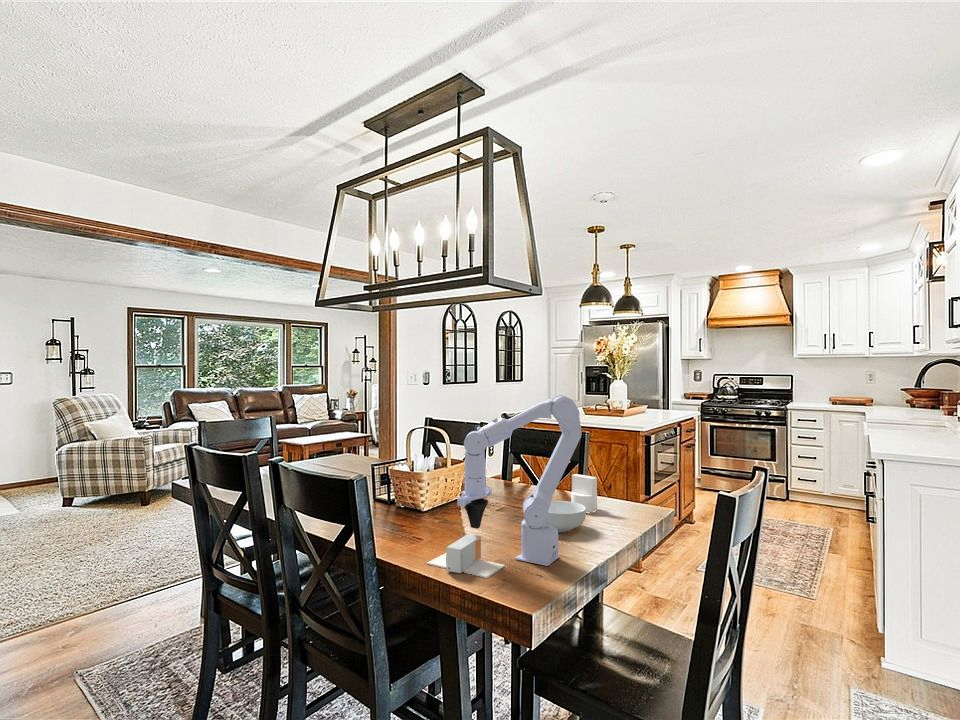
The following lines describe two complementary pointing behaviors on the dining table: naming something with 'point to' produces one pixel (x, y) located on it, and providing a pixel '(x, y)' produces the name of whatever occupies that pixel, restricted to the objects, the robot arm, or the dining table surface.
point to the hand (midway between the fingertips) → (475, 527)
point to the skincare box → (463, 553)
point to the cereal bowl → (565, 515)
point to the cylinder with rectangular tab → (584, 491)
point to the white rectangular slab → (477, 568)
